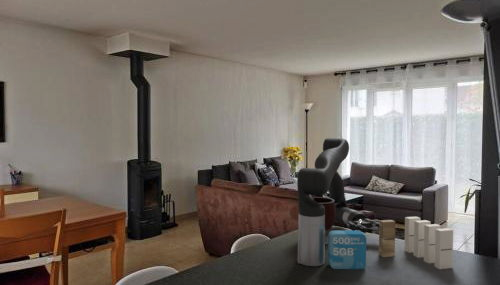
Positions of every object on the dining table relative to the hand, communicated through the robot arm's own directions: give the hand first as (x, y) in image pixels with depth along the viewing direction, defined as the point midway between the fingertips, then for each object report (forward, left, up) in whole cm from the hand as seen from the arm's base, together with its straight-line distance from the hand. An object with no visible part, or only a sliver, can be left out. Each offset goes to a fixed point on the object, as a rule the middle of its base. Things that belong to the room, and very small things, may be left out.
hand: (375, 229), depth 146 cm
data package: (-12, -21, -8) cm, 25 cm away
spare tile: (+3, -7, -8) cm, 11 cm away
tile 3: (+16, -5, -8) cm, 18 cm away
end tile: (+20, -15, -8) cm, 26 cm away
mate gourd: (-23, +7, -8) cm, 25 cm away
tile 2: (+13, 0, -8) cm, 15 cm away
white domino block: (+18, -10, -8) cm, 22 cm away
